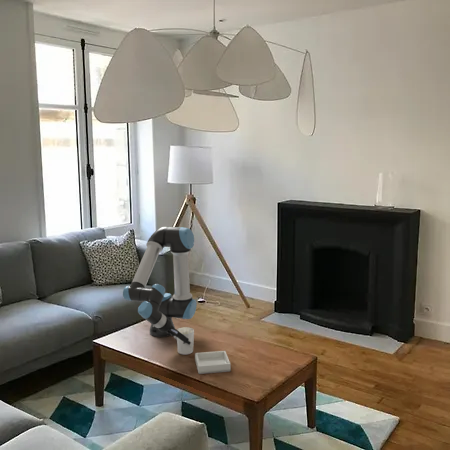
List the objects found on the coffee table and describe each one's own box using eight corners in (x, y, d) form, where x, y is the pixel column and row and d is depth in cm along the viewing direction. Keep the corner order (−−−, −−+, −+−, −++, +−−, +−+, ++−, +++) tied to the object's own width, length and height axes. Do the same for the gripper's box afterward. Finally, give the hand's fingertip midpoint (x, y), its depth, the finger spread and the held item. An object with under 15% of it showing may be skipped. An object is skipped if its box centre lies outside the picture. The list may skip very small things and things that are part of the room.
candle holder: (191, 355, 277) (191, 334, 275) (174, 354, 279) (173, 333, 277) (196, 348, 287) (196, 327, 285) (179, 347, 289) (178, 326, 287)
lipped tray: (195, 360, 272) (194, 353, 271) (225, 357, 275) (225, 350, 274) (198, 374, 257) (198, 366, 256) (230, 371, 259) (230, 363, 258)
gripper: (146, 322, 277) (172, 343, 290) (168, 334, 261) (195, 355, 274) (154, 311, 280) (179, 331, 293) (177, 322, 263) (202, 343, 276)
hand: (187, 343), depth 283 cm, fingers closed on candle holder, 9 cm apart
